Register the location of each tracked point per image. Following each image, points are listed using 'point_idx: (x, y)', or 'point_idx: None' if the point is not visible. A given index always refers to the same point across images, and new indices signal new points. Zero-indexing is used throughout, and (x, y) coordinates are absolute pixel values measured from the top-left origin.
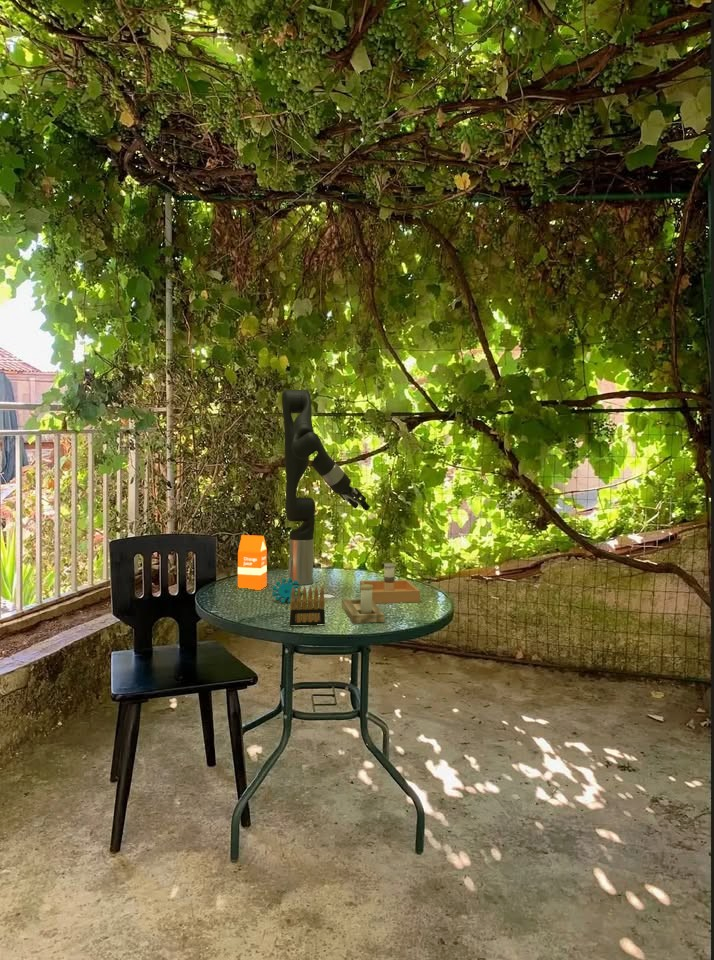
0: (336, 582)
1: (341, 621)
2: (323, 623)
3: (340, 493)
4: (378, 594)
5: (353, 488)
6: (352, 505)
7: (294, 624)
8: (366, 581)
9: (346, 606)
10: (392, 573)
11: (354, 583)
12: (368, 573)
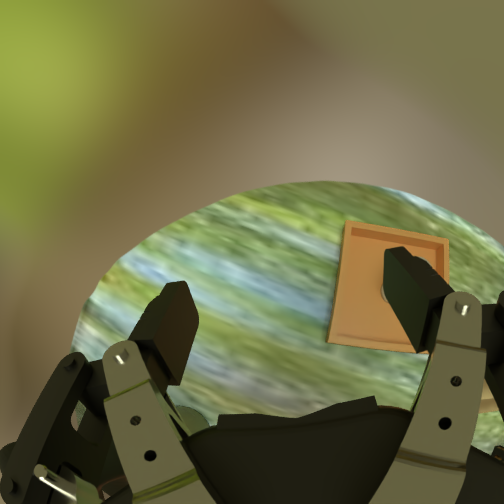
0: (207, 357)
1: (497, 421)
2: (501, 447)
3: (90, 479)
4: None
5: (452, 500)
6: (190, 348)
7: None
8: (337, 326)
9: (478, 413)
10: None
11: (232, 320)
12: (151, 247)
